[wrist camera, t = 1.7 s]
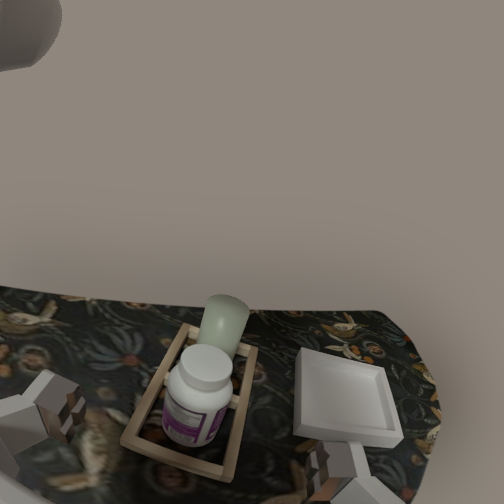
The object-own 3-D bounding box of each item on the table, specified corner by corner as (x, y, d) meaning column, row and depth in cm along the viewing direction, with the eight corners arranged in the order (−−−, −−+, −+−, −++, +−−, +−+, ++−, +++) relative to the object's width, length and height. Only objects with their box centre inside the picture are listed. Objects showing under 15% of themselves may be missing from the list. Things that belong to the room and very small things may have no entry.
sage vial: (186, 373, 31) (201, 311, 28) (196, 350, 36) (212, 290, 32) (223, 386, 31) (246, 326, 28) (230, 361, 35) (252, 303, 32)
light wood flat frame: (120, 445, 20) (119, 439, 20) (182, 329, 38) (183, 322, 38) (229, 483, 20) (233, 478, 20) (255, 354, 38) (258, 347, 38)
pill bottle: (200, 400, 29) (221, 332, 25) (226, 439, 25) (256, 377, 21) (152, 411, 25) (161, 341, 22) (175, 455, 22) (191, 395, 18)
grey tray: (292, 434, 27) (301, 423, 26) (295, 358, 39) (301, 347, 39) (393, 448, 27) (403, 437, 26) (376, 378, 39) (383, 367, 38)
